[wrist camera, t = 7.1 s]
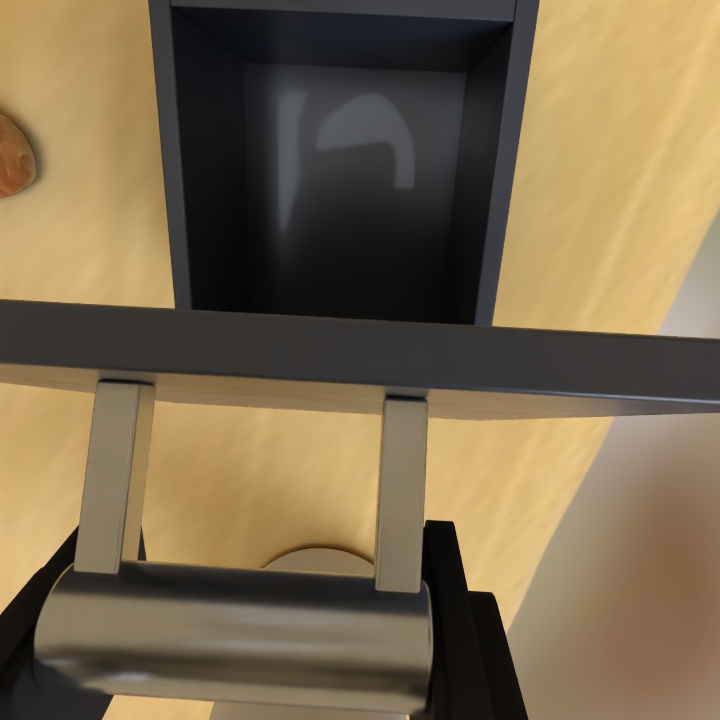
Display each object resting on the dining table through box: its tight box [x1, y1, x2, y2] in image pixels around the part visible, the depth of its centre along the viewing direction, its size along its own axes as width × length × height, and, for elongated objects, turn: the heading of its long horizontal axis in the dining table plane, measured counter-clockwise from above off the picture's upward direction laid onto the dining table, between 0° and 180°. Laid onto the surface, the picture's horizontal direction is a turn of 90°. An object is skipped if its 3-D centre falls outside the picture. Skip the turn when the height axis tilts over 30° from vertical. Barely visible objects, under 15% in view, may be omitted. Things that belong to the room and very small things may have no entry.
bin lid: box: [0, 299, 720, 716], centre depth 14 cm, size 16×14×5 cm
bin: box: [148, 0, 540, 326], centre depth 25 cm, size 16×14×11 cm
